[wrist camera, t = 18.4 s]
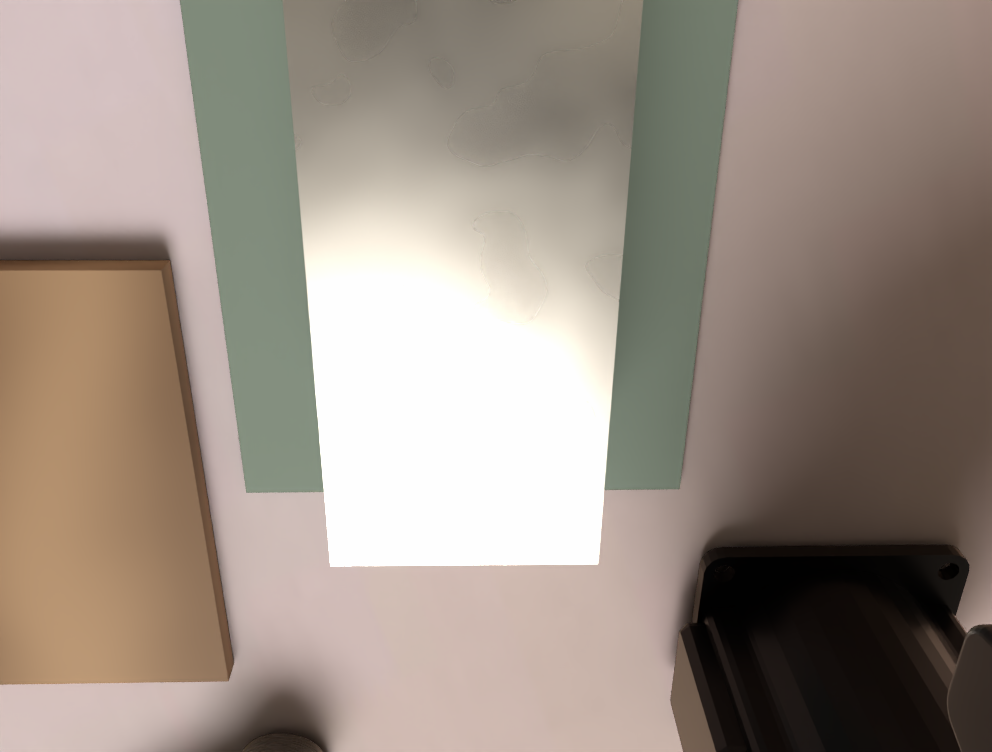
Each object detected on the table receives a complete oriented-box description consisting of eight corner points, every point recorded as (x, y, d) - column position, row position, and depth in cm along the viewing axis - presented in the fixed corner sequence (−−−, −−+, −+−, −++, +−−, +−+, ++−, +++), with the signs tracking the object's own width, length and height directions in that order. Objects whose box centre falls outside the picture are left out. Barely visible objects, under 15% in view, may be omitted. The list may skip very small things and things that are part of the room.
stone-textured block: (605, -30, 16) (644, -14, 13) (575, 451, 21) (598, 563, 17) (322, -34, 16) (281, -19, 12) (354, 453, 21) (330, 565, 17)
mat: (744, -90, 16) (748, -90, 16) (676, 482, 22) (679, 489, 21) (171, -97, 16) (166, -97, 16) (249, 485, 21) (246, 492, 21)
